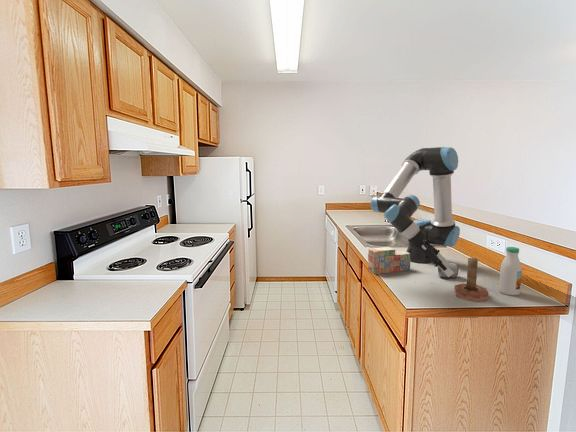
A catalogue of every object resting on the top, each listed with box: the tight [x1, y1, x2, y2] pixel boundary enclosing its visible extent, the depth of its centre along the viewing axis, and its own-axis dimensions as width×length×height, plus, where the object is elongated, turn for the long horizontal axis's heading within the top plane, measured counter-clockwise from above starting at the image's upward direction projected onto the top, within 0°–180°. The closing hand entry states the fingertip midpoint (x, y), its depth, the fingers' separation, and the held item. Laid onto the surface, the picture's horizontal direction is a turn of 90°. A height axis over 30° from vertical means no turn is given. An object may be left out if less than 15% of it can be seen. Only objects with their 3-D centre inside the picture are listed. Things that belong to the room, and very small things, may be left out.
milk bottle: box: [498, 246, 523, 297], centre depth 147 cm, size 8×8×20 cm
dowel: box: [465, 257, 479, 291], centre depth 145 cm, size 4×4×16 cm
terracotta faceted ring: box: [454, 283, 489, 302], centre depth 146 cm, size 12×12×3 cm
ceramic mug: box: [437, 262, 460, 279], centre depth 170 cm, size 11×8×8 cm
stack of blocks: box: [367, 246, 411, 275], centre depth 180 cm, size 21×6×12 cm, turn 104°
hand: (449, 270), depth 148 cm, fingers open, 13 cm apart
